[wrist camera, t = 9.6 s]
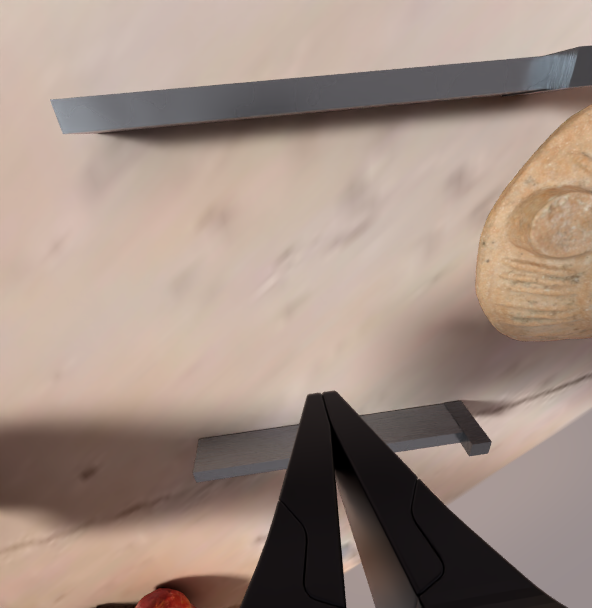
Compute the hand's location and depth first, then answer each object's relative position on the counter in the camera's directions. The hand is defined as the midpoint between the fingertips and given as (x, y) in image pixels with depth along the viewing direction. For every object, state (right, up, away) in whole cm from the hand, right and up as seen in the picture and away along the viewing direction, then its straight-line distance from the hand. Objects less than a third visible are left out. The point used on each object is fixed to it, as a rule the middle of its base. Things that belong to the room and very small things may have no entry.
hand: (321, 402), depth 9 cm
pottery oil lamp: (+12, +6, +5) cm, 14 cm away
